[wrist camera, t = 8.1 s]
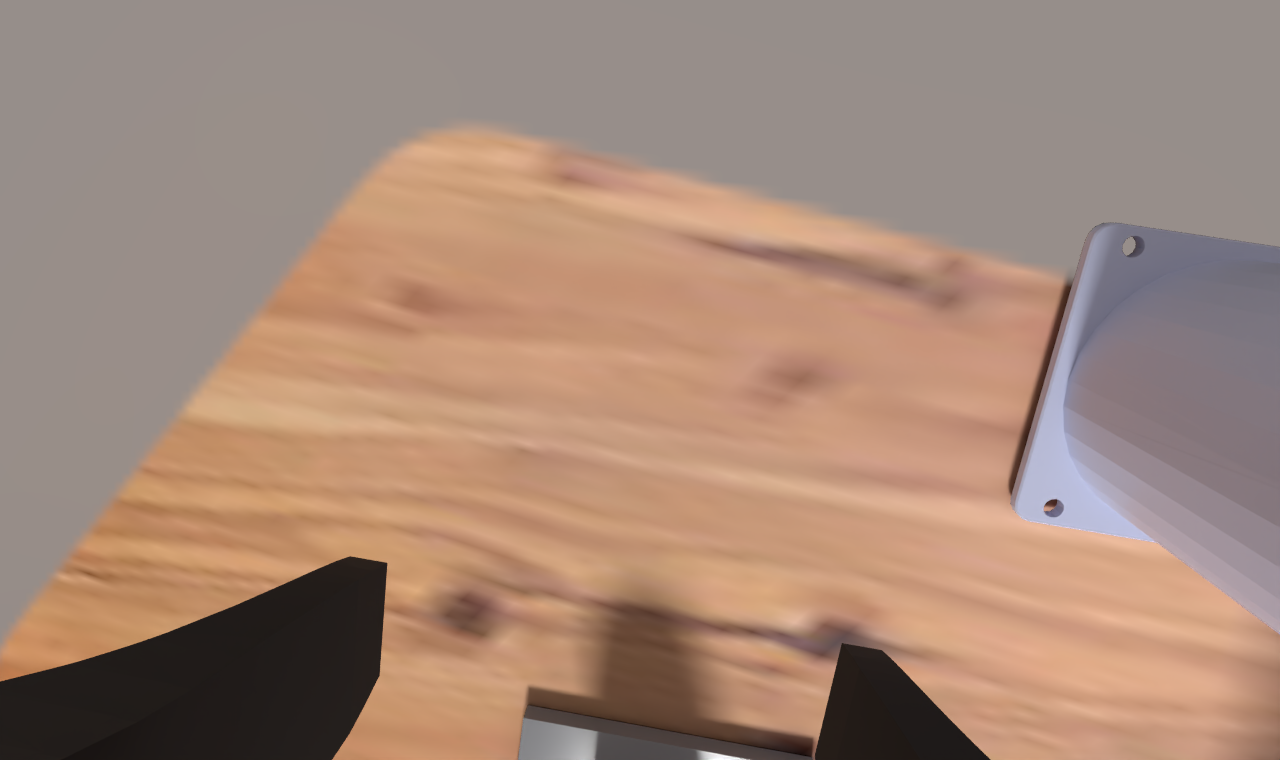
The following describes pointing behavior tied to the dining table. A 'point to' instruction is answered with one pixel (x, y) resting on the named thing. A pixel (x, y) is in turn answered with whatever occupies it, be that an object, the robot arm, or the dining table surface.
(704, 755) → the slate coaster
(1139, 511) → the robot arm
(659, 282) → the dining table surface
